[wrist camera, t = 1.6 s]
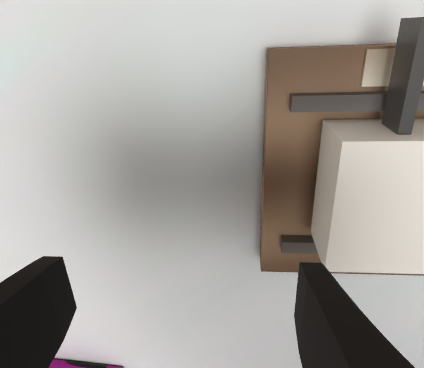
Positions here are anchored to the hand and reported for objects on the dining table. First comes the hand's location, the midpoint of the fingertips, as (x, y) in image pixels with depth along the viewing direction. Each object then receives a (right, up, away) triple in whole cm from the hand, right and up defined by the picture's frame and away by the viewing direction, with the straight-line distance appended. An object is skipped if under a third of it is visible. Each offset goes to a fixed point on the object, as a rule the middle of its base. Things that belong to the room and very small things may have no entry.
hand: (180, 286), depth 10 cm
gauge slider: (+9, +5, +5) cm, 12 cm away
